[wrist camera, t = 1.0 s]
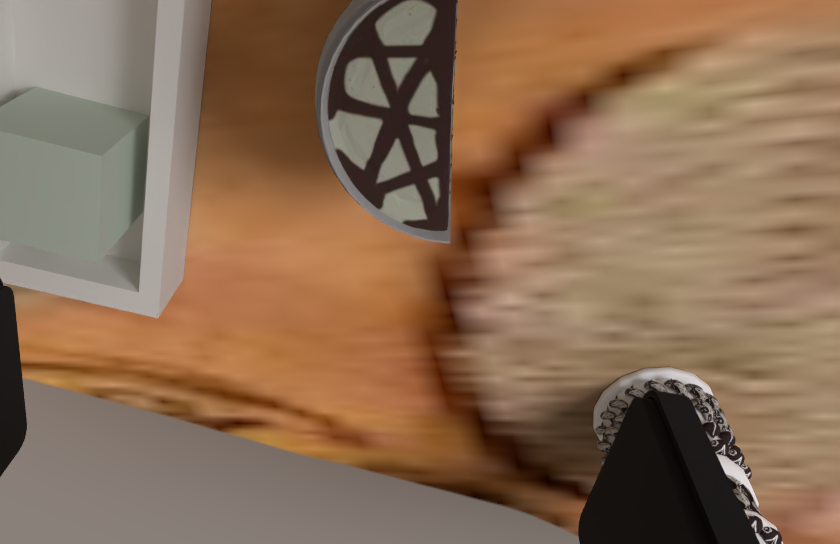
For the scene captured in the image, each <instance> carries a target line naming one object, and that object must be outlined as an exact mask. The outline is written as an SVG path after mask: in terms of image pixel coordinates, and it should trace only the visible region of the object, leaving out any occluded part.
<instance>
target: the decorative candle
mask: <svg viewBox="0 0 840 544" xmlns="http://www.w3.org/2000/svg"><path fill="white" fill-rule="evenodd" d="M649 390H657V391H662V392H668V393H674V394H679V395H685V396H687V397H689V399H690V400H691V401H692V403H693V405H694V408H695V410H696V412H697V414H698V416H699V418H700V420H701V423H702V425H703V427H704V429H705V431H706V433H707V435H708V438H709V440H710V442H711V444H712V446H713V448H714V450H715V453H716V455H717V457H718V459H719V461H720V463H721V465H722V468H723V470H724V472H725V474H726V476H727V478H728V480H729V482H730V485H731V487H732V489H733V491H734V493H735V495H736V496H737V498H738V499H739V501H740V503H741V504H742V507H743V509H744V511H745V513H746V515H747V517H748V519H749V521H750V524H751V526H752V528H753V530H754V532H755V534H756V536H757V538H758V541H759V543H760V544H783V542H782V537H781V535H780V533H779V532H778V530H777V528H776V526H774V525H773V524H772V523H770V522H769V521H767V520H766V519H765V518H763V517H762V516H761V514H760V511H759V509H758V505H759V503H758V501H757V498H756V496H755V494H754V491H753V489H752V487H751V485H750V483H749V480H748V479H750V478H751V475H752V473H751V470H750V468H749V467H748V466H747V465H746V464H743V463H744V455H743V454H742V451H741V450H740V448H739V447H737V446H735V445H734V444H735V437H734V434H733V431H732V429H731V427H730V426H729V425H728V424H727V419H726V417H725V414H724V412H723V411H722V410H721V409H720V408H719V403H718V401H717V399H716V398H715V397H714V396H713V394H712V391H711V389H710V387H709V385H707V384H706V383H705V382H704V381H702V380H701V379H700V378H699V377H697V376H696V375H695V374H693V373H691V372H687V371H684V370H680V369H676V368H673V367H658V368H644V369H641V370H639V371H636V372H633V373H630V374H628V375H625V376H622V377H620V378H619V379H618V380H617V381H615V382H614V383H613V384H612V385H610V386H609V387H608V388H607V389H605V390H604V391H603V393H602V394H601V396H600V398H599V400H598V402H597V403H596V405H595V407H594V412H593V428H594V431H595V432H596V434H597V436H598V438H599V440H600V441H599V442H597V443H596V446H597V448H598V449H600V450H601V451H606V452H607V455H608V453H609V450H610V448H611V446H612V444H613V441H614V439H615V437H616V435H617V432H618V430H619V428H620V426H621V423H622V421H623V419H624V417H625V414H626V412H627V410H628V408H629V405H630V403H631V401H632V400H633V399H634V398H635V397H642V398H643V396H644V394H645V393H646V392H647V391H649ZM607 455H606V456H605V457H603V458H601V459H600V463H601V465H602V466H603V464H604V462H605V459H606V457H607Z"/></svg>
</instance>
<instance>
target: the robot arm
mask: <svg viewBox="0 0 840 544" xmlns="http://www.w3.org/2000/svg"><path fill="white" fill-rule="evenodd" d="M26 430H27V421H26V410H25V401H24V391H23V381H22V371H21V361H20V351H19V341H18V332H17V322H16V312H15V302H14V295H13V291H12V289H11V288H10V287H8V286H3V282H2V280H1V278H0V476H1V475H2V473H3V472H4V470H5V469H6V468H7V467H8V465H9V464H10V462H11V461H12V460H13V458H14V457H15V455H16V454H17V453H18V451H19V450H20V448H21V446H22V444H23V442H24V439H25V435H26ZM579 541H580V544H760V543H759V541H758V538H757V536H756V534H755V532H754V530H753V528H752V526H751V524H750V521H749V519H748V517H747V515H746V513H745V511H744V509H743V507H742V504H741V503H740V501H739V499H738V498H737V496H736V495H735V493H734V491H733V489H732V487H731V485H730V482H729V480H728V478H727V476H726V474H725V472H724V470H723V468H722V465H721V463H720V461H719V459H718V457H717V455H716V453H715V450H714V448H713V446H712V444H711V442H710V440H709V438H708V435H707V433H706V431H705V429H704V427H703V425H702V423H701V420H700V418H699V416H698V414H697V412H696V410H695V408H694V405H693V403H692V401H691V400H690V399H689V397H687V396H685V395H679V394H674V393H668V392H662V391H657V390H649V391H647V392H646V393H645V394H644V396H643V398H642V397H635V398H634V399H633V400H632V401H631V403H630V405H629V408H628V410H627V412H626V414H625V417H624V419H623V421H622V423H621V426H620V428H619V430H618V432H617V435H616V437H615V439H614V441H613V444H612V446H611V448H610V450H609V453H608V455H607V457H606V459H605V462H604V464H603V466H602V468H601V471H600V473H599V475H598V477H597V480H596V482H595V484H594V486H593V489H592V491H591V493H590V495H589V498H588V500H587V502H586V504H585V507H584V509H583V511H582V514H581V517H580V521H579Z"/></svg>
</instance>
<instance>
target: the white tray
mask: <svg viewBox="0 0 840 544" xmlns="http://www.w3.org/2000/svg"><path fill="white" fill-rule="evenodd" d="M211 3H212V0H0V107H1V106H3V105H4V104H6V103H8V102H10V101H11V100H13V99H15V98H17V97H19V96H20V95H22V94H24V93H26V92H28V91H29V90H31V89H33V88H35V87H40V88H44V89H48V90H52V91H56V92H59V93H63V94H67V95H71V96H75V97H79V98H83V99H87V100H91V101H95V102H99V103H102V104H106V105H110V106H114V107H118V108H122V109H126V110H130V111H134V112H138V113H141V114H145V115H149V123H148V138H147V154H146V169H145V185H144V200H143V212H142V213H141V215H140V216H139V217H138V218H137V219H136V220H135V221H134V223H133V224H132V225H131V226H130V227H129V228H128V230H127V231H126V232H125V233H124V234H123V235H122V237H121V238H120V239H119V240H118V241H117V242H116V243H115V245H114V246H113V247H112V248H111V249H110V250H109V252H108V253H107V254H106V255H105V256H104V257H103V258H102V260H101V261H100V262H99V263H96V262H92V261H88V260H84V259H79V258H75V257H71V256H67V255H63V254H58V253H54V252H50V251H46V250H41V249H37V248H33V247H29V246H24V245H20V244H16V243H12V242H7V241H3V240H0V278H1V280H2V282H3V283H7V284H11V285H16V286H20V287H24V288H29V289H33V290H37V291H42V292H46V293H50V294H55V295H59V296H63V297H68V298H72V299H76V300H81V301H85V302H89V303H94V304H98V305H102V306H107V307H111V308H115V309H120V310H124V311H128V312H133V313H137V314H142V315H146V316H150V317H155V318H159V316H160V314H161V313H162V311H163V310H164V308H165V307H166V305H167V303H168V302H169V300H170V299H171V297H172V296H173V294H174V292H175V291H176V289H177V288H178V286H179V285H180V283H181V281H182V280H183V276H184V267H185V257H186V247H187V237H188V228H189V218H190V208H191V198H192V189H193V179H194V169H195V159H196V150H197V140H198V130H199V120H200V111H201V101H202V91H203V81H204V72H205V62H206V52H207V42H208V33H209V23H210V13H211Z"/></svg>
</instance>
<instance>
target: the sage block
mask: <svg viewBox="0 0 840 544" xmlns="http://www.w3.org/2000/svg"><path fill="white" fill-rule="evenodd" d="M148 123H149V115H145V114H141V113H138V112H134V111H130V110H126V109H122V108H118V107H114V106H110V105H106V104H102V103H99V102H95V101H91V100H87V99H83V98H79V97H75V96H71V95H67V94H63V93H59V92H56V91H52V90H48V89H44V88H40V87H35V88H33V89H31V90H29V91H28V92H26V93H24V94H22V95H20V96H19V97H17V98H15V99H13V100H11V101H10V102H8V103H6V104H4V105H3V106H1V107H0V240H3V241H7V242H12V243H16V244H20V245H24V246H29V247H33V248H37V249H41V250H46V251H50V252H54V253H58V254H63V255H67V256H71V257H75V258H79V259H84V260H88V261H92V262H96V263H99V262H100V261H101V260H102V258H103V257H104V256H105V255H106V254H107V253H108V252H109V250H110V249H111V248H112V247H113V246H114V245H115V243H116V242H117V241H118V240H119V239H120V238H121V237H122V235H123V234H124V233H125V232H126V231H127V230H128V228H129V227H130V226H131V225H132V224H133V223H134V221H135V220H136V219H137V218H138V217H139V216H140V215H141V213H142V212H143V200H144V185H145V169H146V154H147V138H148Z"/></svg>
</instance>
